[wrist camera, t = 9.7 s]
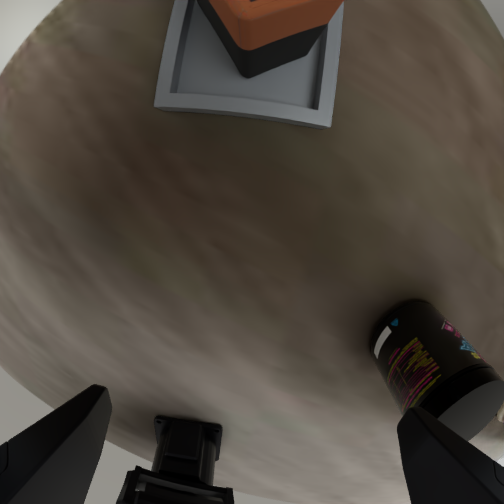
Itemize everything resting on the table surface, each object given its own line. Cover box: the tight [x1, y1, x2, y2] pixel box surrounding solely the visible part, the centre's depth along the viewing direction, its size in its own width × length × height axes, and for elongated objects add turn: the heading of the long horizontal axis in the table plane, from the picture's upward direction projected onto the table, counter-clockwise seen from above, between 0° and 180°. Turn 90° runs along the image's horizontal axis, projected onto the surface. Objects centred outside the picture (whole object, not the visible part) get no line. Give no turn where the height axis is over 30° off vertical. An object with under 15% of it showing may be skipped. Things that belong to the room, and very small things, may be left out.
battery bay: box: [154, 0, 344, 130], centre depth 14 cm, size 13×10×2 cm
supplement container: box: [371, 302, 504, 441], centre depth 17 cm, size 7×7×10 cm
